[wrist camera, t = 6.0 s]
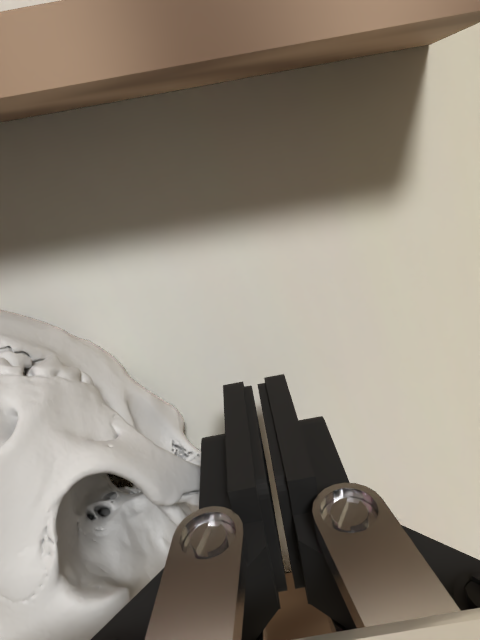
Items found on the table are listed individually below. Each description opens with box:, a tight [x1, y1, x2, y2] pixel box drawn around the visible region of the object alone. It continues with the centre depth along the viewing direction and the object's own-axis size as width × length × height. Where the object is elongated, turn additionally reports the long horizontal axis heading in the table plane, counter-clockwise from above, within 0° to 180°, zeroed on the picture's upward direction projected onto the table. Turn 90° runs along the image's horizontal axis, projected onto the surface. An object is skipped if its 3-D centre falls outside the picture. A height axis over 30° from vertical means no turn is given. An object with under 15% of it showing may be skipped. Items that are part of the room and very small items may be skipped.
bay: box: [0, 0, 480, 640], centre depth 12 cm, size 24×19×5 cm
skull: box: [0, 310, 201, 640], centre depth 11 cm, size 8×9×12 cm
